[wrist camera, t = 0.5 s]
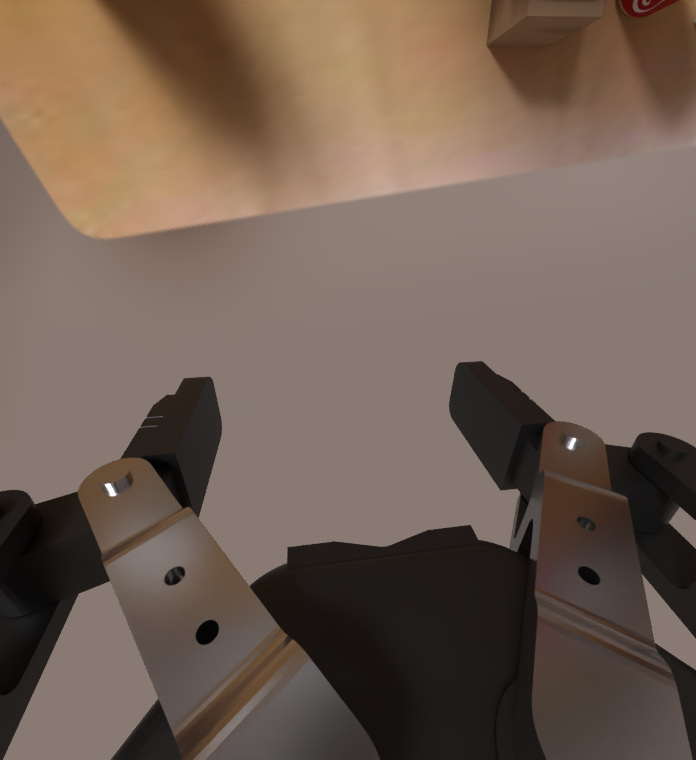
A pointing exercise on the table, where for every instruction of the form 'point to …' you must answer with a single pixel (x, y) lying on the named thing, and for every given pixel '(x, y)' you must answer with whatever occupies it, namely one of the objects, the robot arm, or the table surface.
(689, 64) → the table surface
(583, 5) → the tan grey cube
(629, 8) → the soda can
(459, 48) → the table surface
